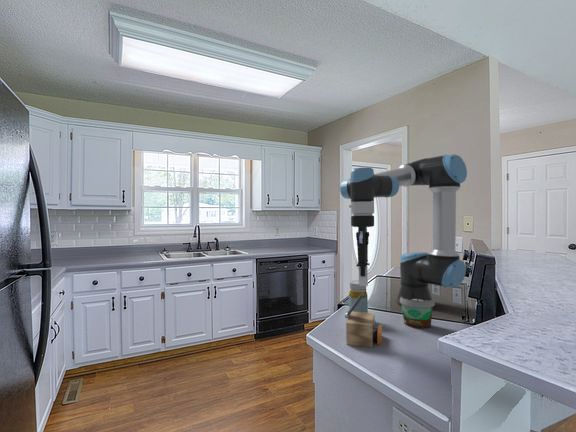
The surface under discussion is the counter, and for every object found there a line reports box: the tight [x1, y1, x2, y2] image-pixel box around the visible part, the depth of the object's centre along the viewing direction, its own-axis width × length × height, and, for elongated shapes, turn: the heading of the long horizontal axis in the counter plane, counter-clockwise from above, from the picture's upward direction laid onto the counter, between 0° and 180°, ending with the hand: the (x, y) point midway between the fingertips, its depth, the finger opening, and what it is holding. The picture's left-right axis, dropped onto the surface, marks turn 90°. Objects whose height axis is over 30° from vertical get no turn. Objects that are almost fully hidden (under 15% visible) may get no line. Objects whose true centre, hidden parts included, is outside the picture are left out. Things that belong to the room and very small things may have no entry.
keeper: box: [344, 292, 364, 319], centre depth 107 cm, size 10×5×1 cm
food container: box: [400, 297, 436, 330], centre depth 116 cm, size 12×6×10 cm, turn 70°
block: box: [345, 311, 376, 348], centre depth 106 cm, size 8×12×7 cm, turn 161°
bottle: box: [348, 279, 369, 313], centre depth 123 cm, size 7×7×15 cm
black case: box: [373, 324, 383, 346], centre depth 106 cm, size 11×7×4 cm, turn 72°
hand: (363, 285), depth 106 cm, fingers closed
